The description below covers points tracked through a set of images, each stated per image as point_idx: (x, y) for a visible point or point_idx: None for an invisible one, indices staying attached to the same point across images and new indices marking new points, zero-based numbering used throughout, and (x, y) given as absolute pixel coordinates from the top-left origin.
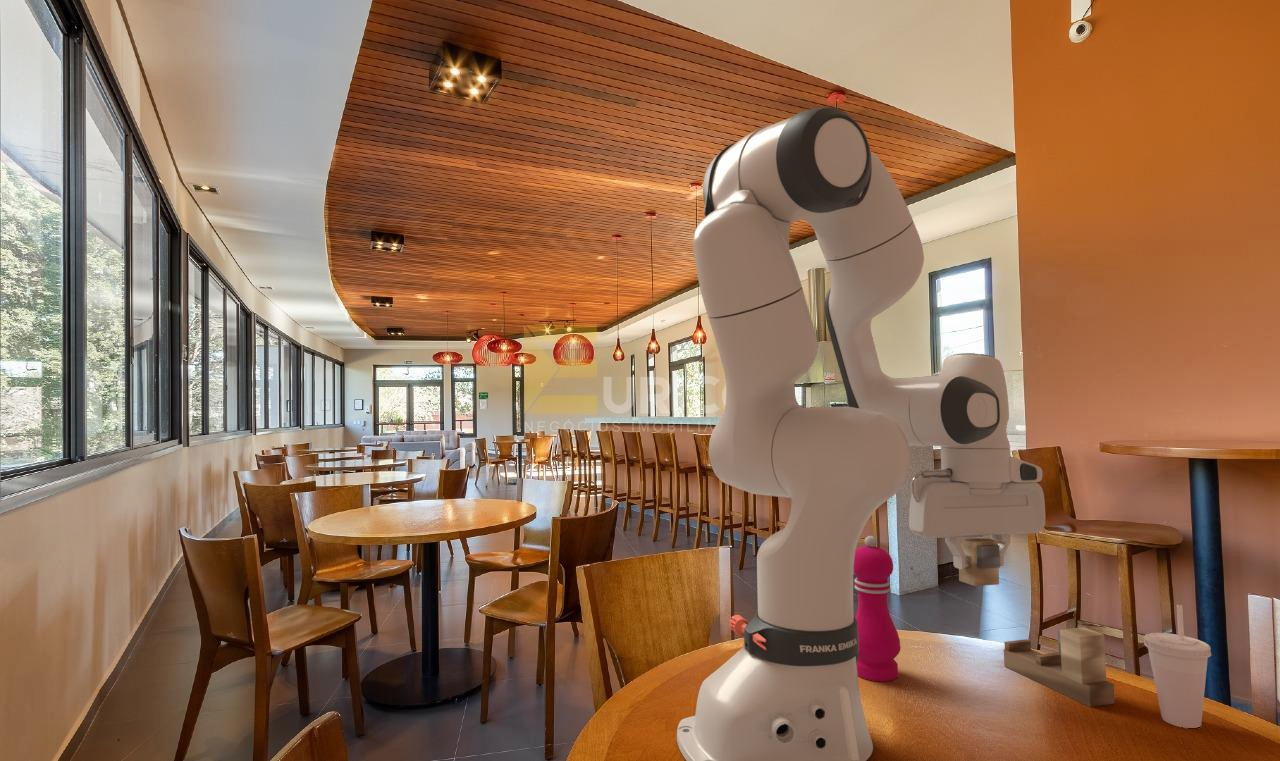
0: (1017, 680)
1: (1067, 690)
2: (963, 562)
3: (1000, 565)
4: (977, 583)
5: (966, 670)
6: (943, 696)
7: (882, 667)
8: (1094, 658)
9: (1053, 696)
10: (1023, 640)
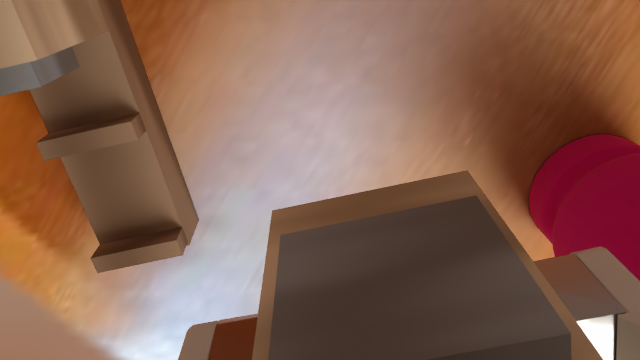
0: (212, 127)
1: (115, 9)
2: (617, 274)
3: (219, 322)
4: (451, 180)
5: (321, 199)
6: (493, 28)
7: (620, 153)
8: None
9: (165, 10)
10: (112, 263)
